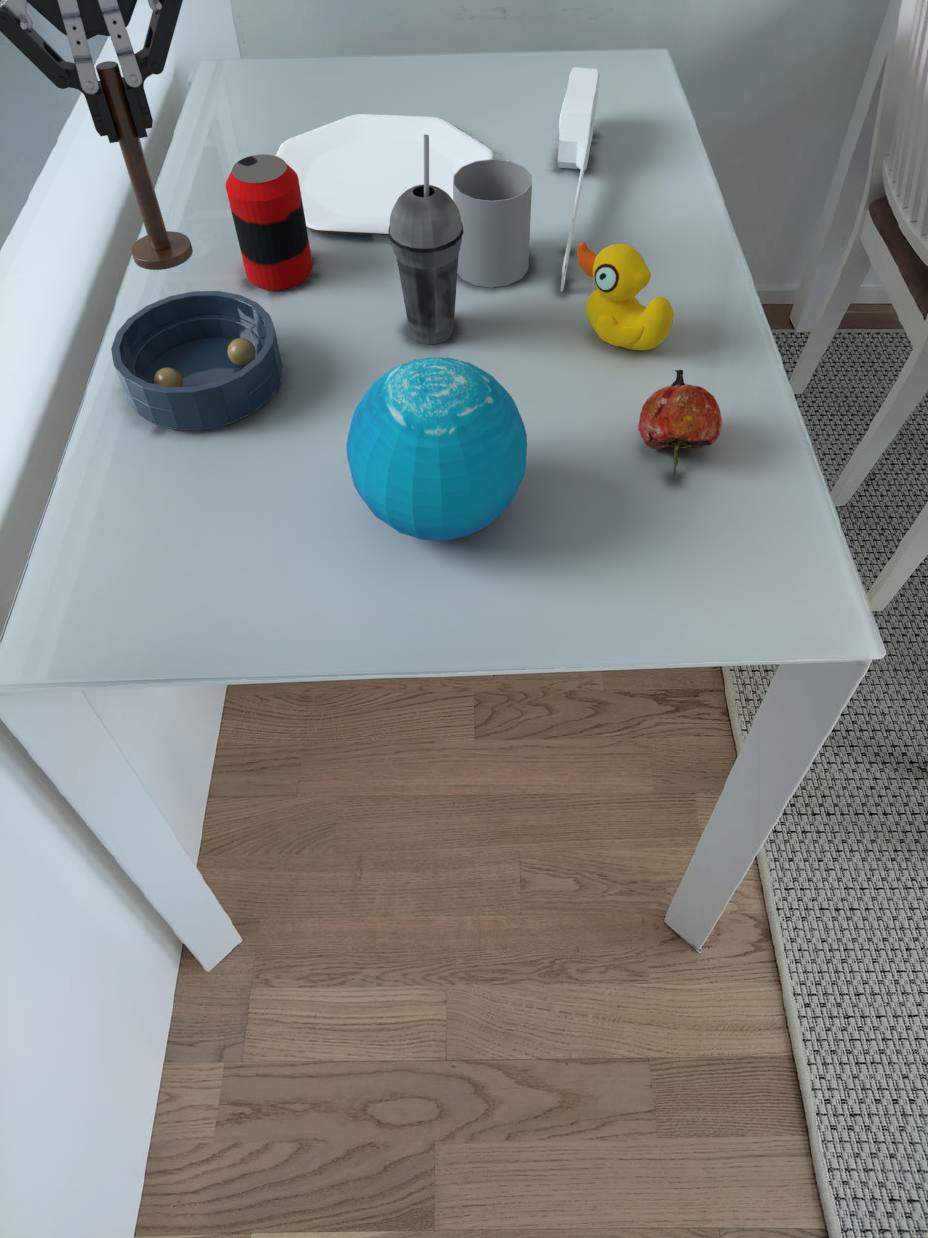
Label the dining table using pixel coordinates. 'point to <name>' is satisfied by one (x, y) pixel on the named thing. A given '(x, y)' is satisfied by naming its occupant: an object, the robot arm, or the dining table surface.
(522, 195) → the cup
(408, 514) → the decorative orb
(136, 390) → the bowl
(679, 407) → the orange red pumpkin
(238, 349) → the bead
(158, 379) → the bead
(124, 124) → the stirrer
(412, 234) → the beverage cup
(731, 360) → the dining table surface
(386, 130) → the plate
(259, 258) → the soda can
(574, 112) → the spatula
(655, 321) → the duckling
